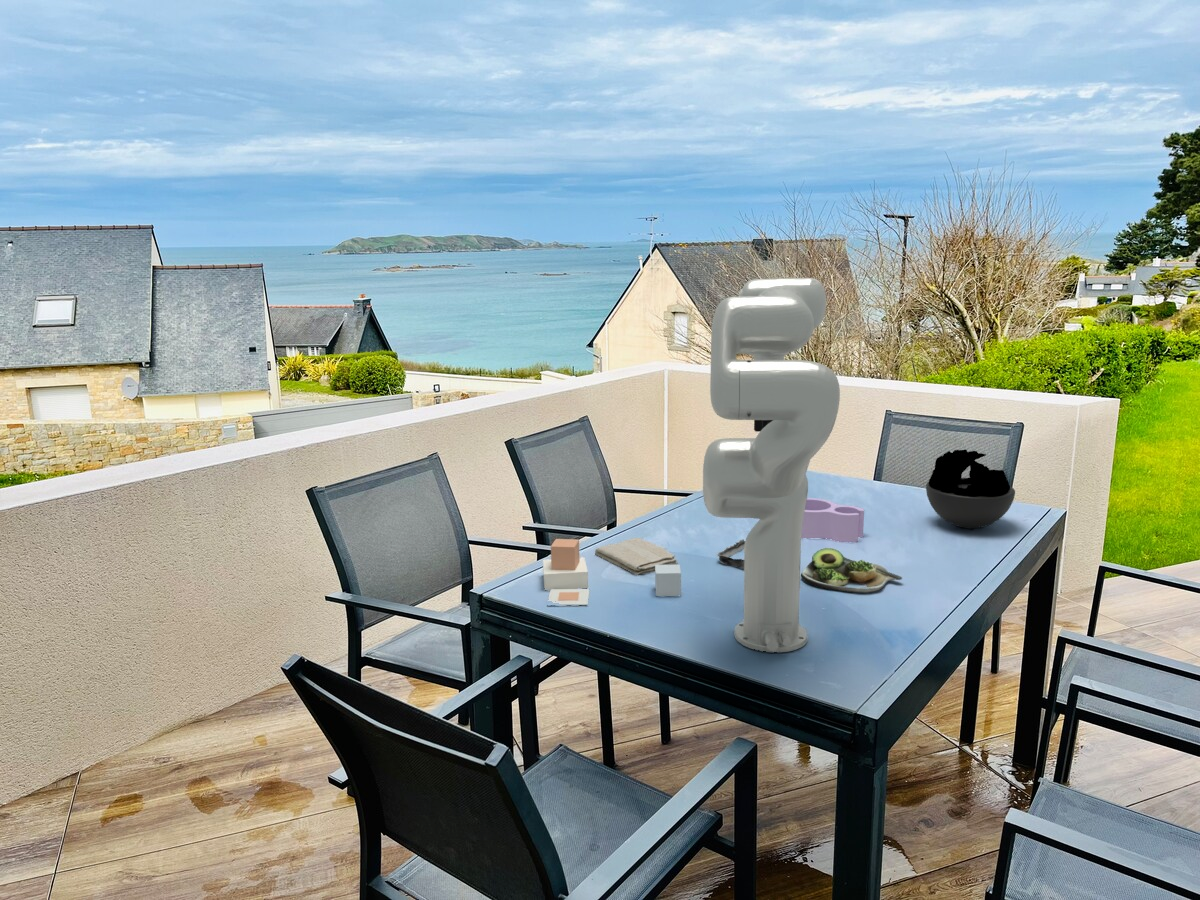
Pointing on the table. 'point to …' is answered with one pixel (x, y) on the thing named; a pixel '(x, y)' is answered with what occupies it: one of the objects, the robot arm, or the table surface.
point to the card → (569, 596)
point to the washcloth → (636, 555)
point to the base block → (565, 576)
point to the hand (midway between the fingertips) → (766, 436)
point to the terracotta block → (565, 554)
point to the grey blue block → (668, 580)
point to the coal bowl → (968, 490)
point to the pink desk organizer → (832, 521)
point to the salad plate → (844, 573)
